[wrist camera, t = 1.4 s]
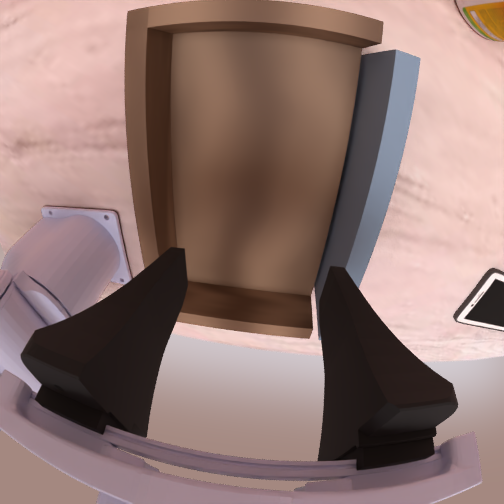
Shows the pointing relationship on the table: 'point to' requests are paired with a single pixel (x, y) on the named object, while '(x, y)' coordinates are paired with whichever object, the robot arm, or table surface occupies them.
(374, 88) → the panel
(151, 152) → the brown drawer
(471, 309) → the cell phone
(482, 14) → the supplement bottle
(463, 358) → the table surface
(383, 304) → the table surface
